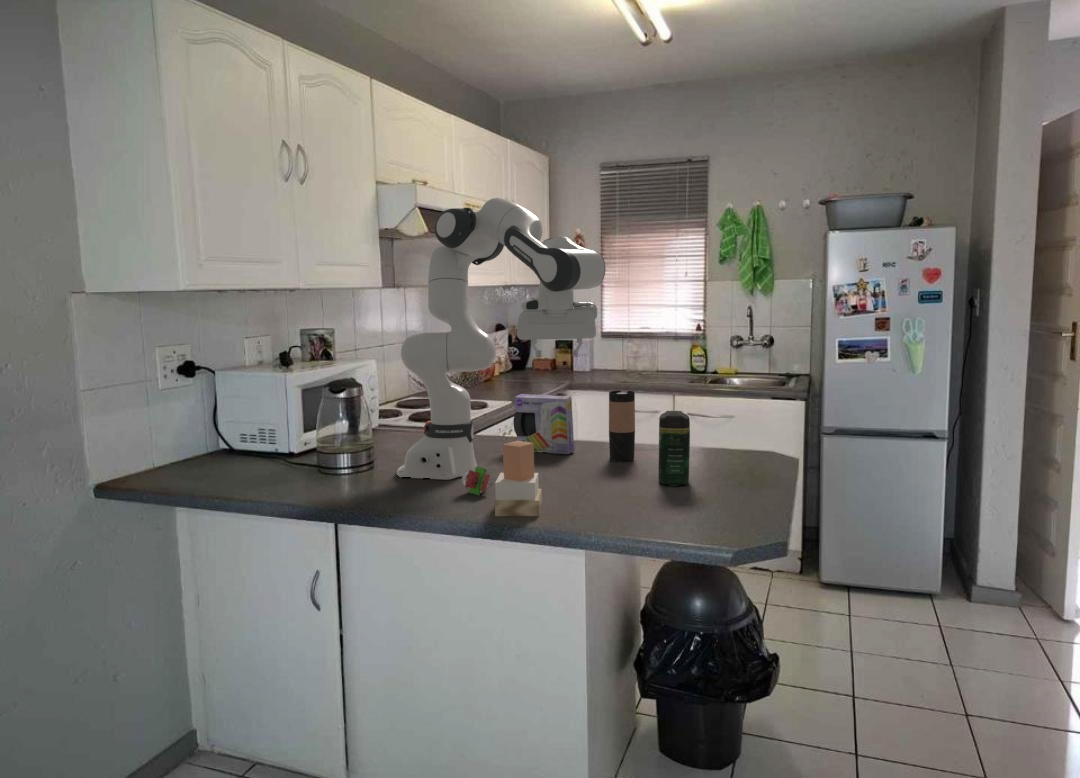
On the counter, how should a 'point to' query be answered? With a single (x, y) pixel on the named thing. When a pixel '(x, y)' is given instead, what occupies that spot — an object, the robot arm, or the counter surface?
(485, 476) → the geometric puzzle
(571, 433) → the cake pan box
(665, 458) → the coffee jar
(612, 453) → the travel mug
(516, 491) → the tower top
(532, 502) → the tower base
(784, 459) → the counter surface
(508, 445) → the pillar
